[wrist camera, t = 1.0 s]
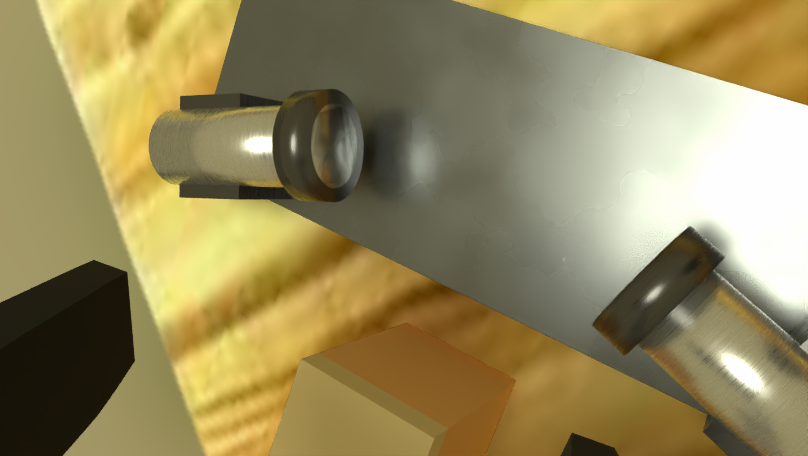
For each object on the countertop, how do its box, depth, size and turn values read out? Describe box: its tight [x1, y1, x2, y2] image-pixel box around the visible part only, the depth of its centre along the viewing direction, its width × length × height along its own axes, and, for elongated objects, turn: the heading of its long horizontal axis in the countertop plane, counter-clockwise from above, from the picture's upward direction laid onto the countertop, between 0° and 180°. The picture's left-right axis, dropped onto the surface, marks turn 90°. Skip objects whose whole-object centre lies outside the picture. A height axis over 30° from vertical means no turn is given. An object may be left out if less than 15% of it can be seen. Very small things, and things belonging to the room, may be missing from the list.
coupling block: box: [269, 323, 516, 456], centre depth 20 cm, size 4×5×6 cm
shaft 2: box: [592, 226, 808, 456], centre depth 16 cm, size 6×3×4 cm, turn 48°
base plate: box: [215, 0, 808, 414], centre depth 21 cm, size 8×23×1 cm, turn 68°
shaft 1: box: [149, 89, 364, 202], centre depth 22 cm, size 6×3×4 cm, turn 88°
